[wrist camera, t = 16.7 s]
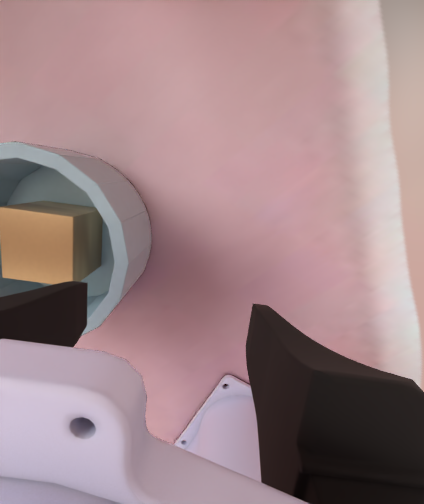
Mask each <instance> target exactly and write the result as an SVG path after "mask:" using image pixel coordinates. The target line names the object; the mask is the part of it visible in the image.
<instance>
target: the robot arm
mask: <svg viewBox="0 0 424 504" xmlns="http://www.w3.org/2000/svg"><path fill="white" fill-rule="evenodd" d="M87 290H88V283H85V282H77V281H68V282H62V283H58V284H53V285H49V286H45V287H41V288H37V289H34V290H30V291H25V292H21V293H16V294H12V295H8V296H3V297H0V504H424V392H423V391H422V390H421V389H420V387H419V386H418V385H417V384H416V383H415V382H414V381H413V380H412V379H408V378H405V377H401V376H398V375H394V374H391V373H387V372H384V371H380V370H377V369H374V368H372V367H369V366H366V365H363V364H361V363H358V362H356V361H353V360H351V359H348V358H346V357H344V356H342V355H340V354H338V353H336V352H333V351H331V350H330V349H328V348H326V347H324V346H322V345H321V344H319V343H317V342H315V341H314V340H312V339H311V338H309V337H307V336H306V335H305V334H303V333H302V332H300V331H299V330H298V329H296V328H295V327H294V326H292V325H291V324H290V323H289V322H287V321H286V320H285V319H284V318H282V317H281V316H280V315H279V314H278V313H277V312H275V311H274V310H273V309H272V308H270V307H269V306H267V305H260V304H253V306H252V312H251V318H250V324H249V330H248V336H247V342H246V360H247V369H248V375H249V380H250V385H249V384H247V383H245V382H243V381H241V380H240V379H238V378H236V377H234V376H232V375H225V376H224V377H223V378H222V380H221V381H220V383H219V384H218V385H217V387H216V388H215V389H214V391H213V392H212V393H211V395H210V396H209V397H208V399H207V400H206V402H205V403H204V404H203V406H202V407H201V408H200V410H199V411H198V412H197V414H196V415H195V416H194V418H193V419H192V421H191V422H190V423H189V425H188V426H187V427H186V429H185V430H184V431H183V433H182V434H181V435H180V437H179V438H178V440H177V441H176V442H175V444H174V445H173V444H171V443H168V442H166V441H164V440H162V439H159V438H157V437H155V436H153V435H152V434H151V433H150V432H149V431H148V429H147V427H146V420H145V413H146V400H147V395H146V390H145V386H144V382H143V378H142V375H141V374H140V373H139V372H138V371H137V370H136V369H135V368H134V367H133V366H132V365H131V364H130V363H129V362H128V361H127V360H126V359H123V358H121V357H118V356H115V355H112V354H110V353H107V352H104V351H97V350H89V349H81V348H73V347H74V345H75V344H76V343H77V341H78V340H79V338H80V337H81V335H82V333H83V332H84V330H85V328H86V326H87ZM224 384H227V386H224ZM183 440H185V441H183Z"/></svg>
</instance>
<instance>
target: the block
mask: <svg viewBox="0 0 424 504" xmlns="http://www.w3.org/2000/svg"><path fill="white" fill-rule="evenodd" d="M102 224H103V218H102V216H101V215H100V213H99V212H98V210H97V208H95V207H88V206H81V205H73V204H66V203H58V202H51V201H36V202H29V203H22V204H15V205H8V206H1V207H0V244H1V261H2V277H3V278H9V279H17V280H24V281H31V282H39V283H46V284H58V283H62V282H68V281H77V282H80V281H81V280H83V279H84V278H85V277H87V276H88V275H89V274H91V273H92V272H93V271H95V270H96V269H97V268H99V267H100V266H101V255H102Z"/></svg>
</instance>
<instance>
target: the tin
mask: <svg viewBox="0 0 424 504" xmlns="http://www.w3.org/2000/svg"><path fill="white" fill-rule="evenodd" d="M36 201H51V202H58V203H66V204H73V205H81V206H88V207H95V208H97V210H98V212H99V213H100V215H101V216H102V218H103V224H102V255H101V266H100V267H99V268H97V269H96V270H95V271H93V272H92V273H91V274H89V275H88V276H87V277H85V278H84V279H83V280H81V281H80V282H85V283H88V290H87V326H86V328H85V330H84V332H83V333H82V335H84V334H86V333H88V332H90V331H92V330H94V329H96V328H98V327H99V326H100V325H101V324H102V323H103V322H104V321H105V319H106V318H107V317H108V316H109V314H110V313H111V312H112V311H113V309H114V308H115V307H116V306H117V305H118V303H119V302H120V301H121V300H122V298H123V297H124V296H125V295H126V293H127V292H128V291H129V290H130V288H131V287H132V286H133V285H134V283H135V282H136V281H137V280H138V278H139V277H140V276H141V274H142V273H143V272H144V271H145V268H146V264H147V261H148V258H149V255H150V250H151V243H152V233H151V224H150V220H149V216H148V213H147V210H146V207H145V205H144V203H143V201H142V199H141V197H140V195H139V194H138V192H137V191H136V189H135V188H134V186H133V185H132V184H131V183H130V182H129V181H128V180H127V178H125V177H124V176H123V175H122V174H121V173H120V172H119V171H118V170H116V169H115V168H113V167H112V166H110V165H109V164H107V163H105V162H104V161H102V160H101V159H97V158H94V157H92V156H89V155H85V154H81V153H78V152H74V151H71V150H65V149H59V148H53V147H47V146H41V145H35V144H28V143H22V142H7V143H0V207H1V206H8V205H15V204H22V203H29V202H36ZM49 285H53V284H46V283H39V282H31V281H24V280H17V279H9V278H3V277H2V261H1V244H0V297H3V296H8V295H12V294H16V293H21V292H25V291H30V290H34V289H37V288H41V287H45V286H49ZM82 335H81V336H82Z"/></svg>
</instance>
